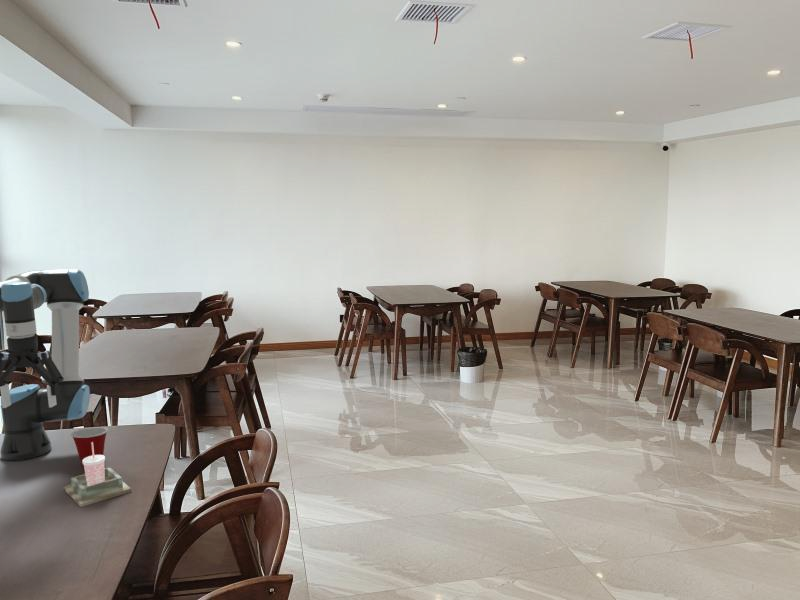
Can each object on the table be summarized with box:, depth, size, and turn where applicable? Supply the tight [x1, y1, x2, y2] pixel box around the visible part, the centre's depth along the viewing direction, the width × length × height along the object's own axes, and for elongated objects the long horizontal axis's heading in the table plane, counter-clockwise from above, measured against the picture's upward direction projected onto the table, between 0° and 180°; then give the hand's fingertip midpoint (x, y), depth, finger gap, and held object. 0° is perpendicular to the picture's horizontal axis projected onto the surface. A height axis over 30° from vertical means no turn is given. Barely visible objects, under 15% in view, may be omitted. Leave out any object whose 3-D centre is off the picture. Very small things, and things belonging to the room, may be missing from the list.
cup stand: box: [63, 466, 132, 508], centre depth 183 cm, size 16×14×4 cm
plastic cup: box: [70, 426, 109, 469], centre depth 201 cm, size 11×11×12 cm
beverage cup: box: [82, 442, 106, 486], centre depth 182 cm, size 6×6×14 cm
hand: (29, 406), depth 181 cm, fingers open, 13 cm apart
